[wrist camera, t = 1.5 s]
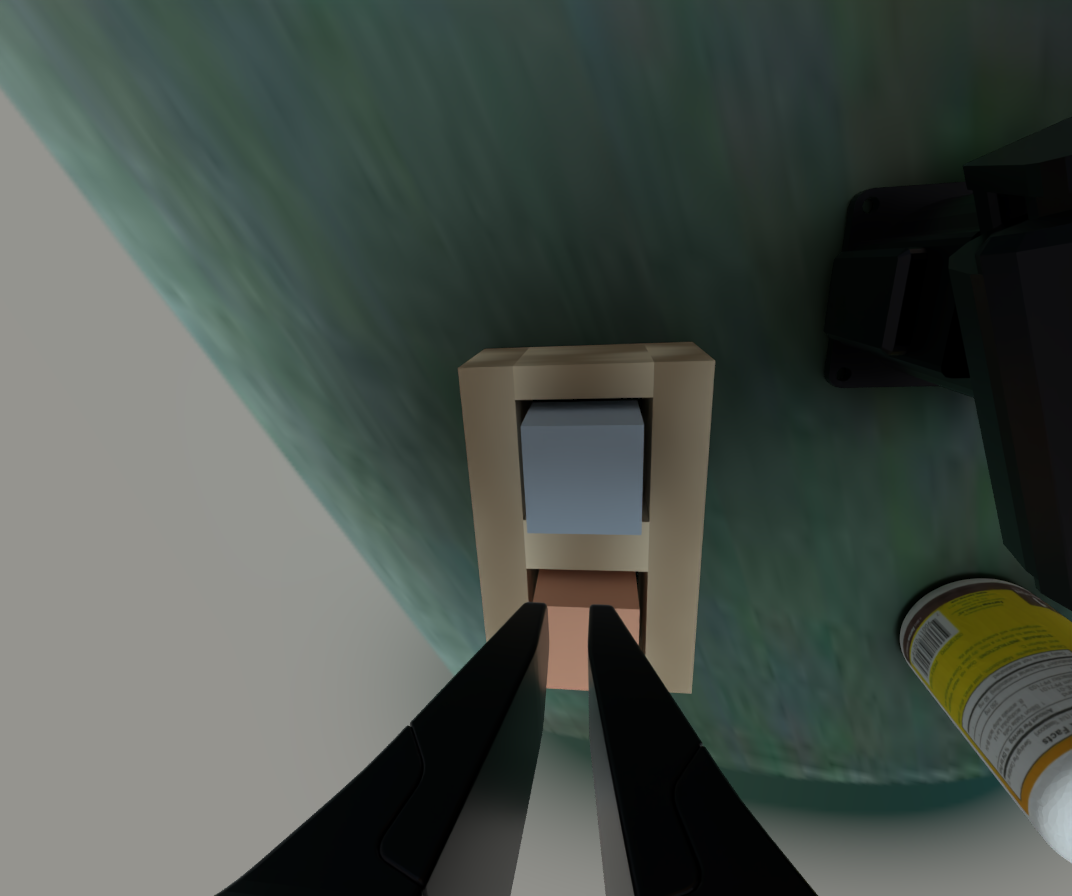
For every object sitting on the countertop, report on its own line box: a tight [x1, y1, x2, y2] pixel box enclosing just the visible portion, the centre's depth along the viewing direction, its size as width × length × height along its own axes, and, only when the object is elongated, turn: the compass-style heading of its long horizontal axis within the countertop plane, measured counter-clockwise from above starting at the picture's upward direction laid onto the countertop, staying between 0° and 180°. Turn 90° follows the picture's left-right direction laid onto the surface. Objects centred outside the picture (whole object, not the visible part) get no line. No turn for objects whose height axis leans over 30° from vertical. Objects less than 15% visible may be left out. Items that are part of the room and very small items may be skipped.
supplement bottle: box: [900, 578, 1072, 863], centre depth 17 cm, size 6×6×10 cm
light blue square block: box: [520, 400, 644, 535], centre depth 16 cm, size 4×4×3 cm
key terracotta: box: [533, 569, 640, 691], centre depth 19 cm, size 4×4×3 cm
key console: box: [458, 342, 715, 693], centre depth 20 cm, size 8×13×4 cm, turn 3°
